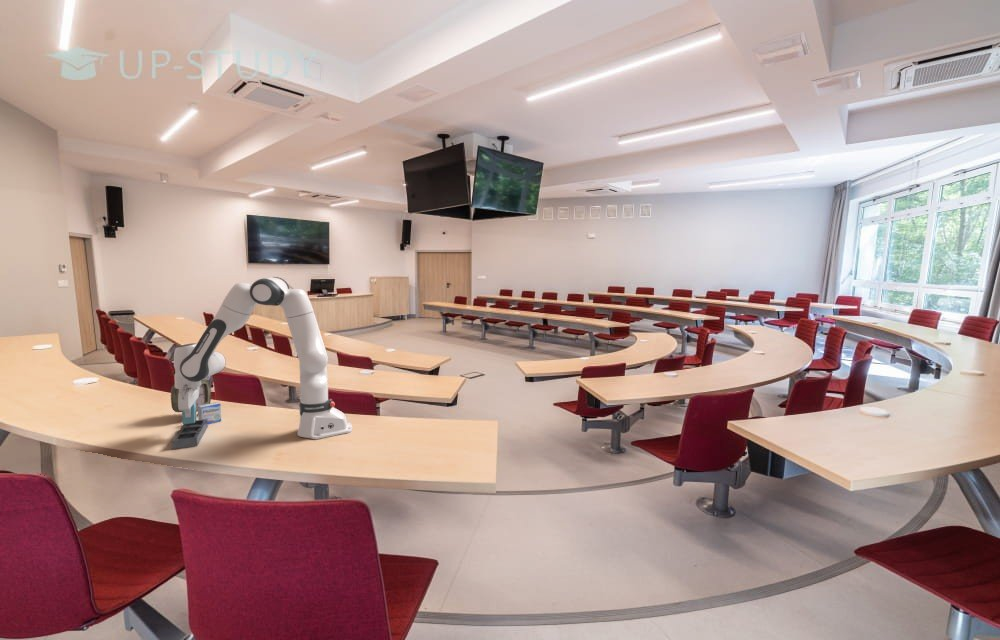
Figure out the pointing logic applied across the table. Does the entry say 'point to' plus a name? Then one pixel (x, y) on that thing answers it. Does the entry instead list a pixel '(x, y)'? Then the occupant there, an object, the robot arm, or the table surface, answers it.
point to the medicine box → (210, 412)
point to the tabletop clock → (202, 399)
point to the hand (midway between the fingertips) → (189, 414)
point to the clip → (192, 418)
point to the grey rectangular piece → (190, 434)
